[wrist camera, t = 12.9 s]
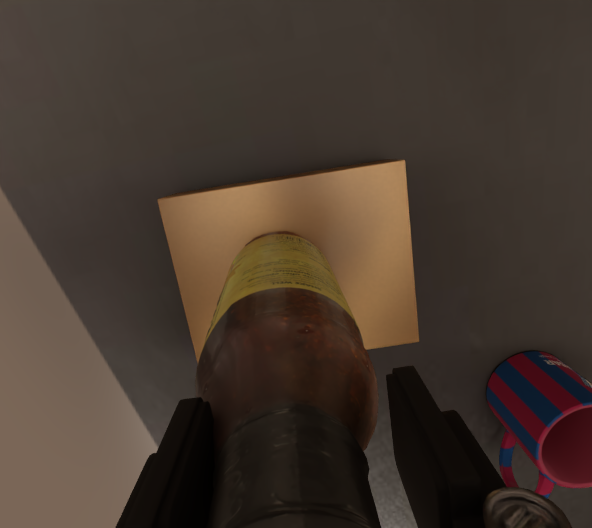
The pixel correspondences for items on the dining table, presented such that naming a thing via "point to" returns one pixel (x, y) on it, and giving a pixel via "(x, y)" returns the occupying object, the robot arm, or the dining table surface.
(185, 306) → the oak stand
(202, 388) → the sauce bottle
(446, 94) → the dining table surface
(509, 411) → the mug
